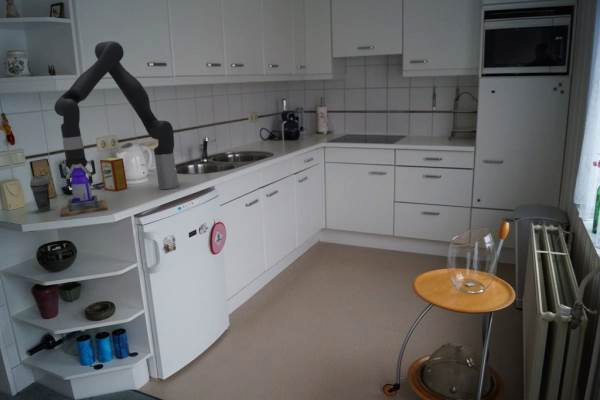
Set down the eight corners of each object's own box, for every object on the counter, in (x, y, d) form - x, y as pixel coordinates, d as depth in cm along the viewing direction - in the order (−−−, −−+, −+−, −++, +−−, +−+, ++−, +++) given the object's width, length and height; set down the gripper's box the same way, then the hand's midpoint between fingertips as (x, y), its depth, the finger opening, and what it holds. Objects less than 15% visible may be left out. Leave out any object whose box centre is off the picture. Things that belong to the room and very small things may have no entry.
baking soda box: (104, 190, 244) (99, 159, 240) (115, 187, 249) (110, 156, 245) (116, 191, 239) (111, 159, 235) (127, 188, 244) (122, 157, 240)
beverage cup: (44, 208, 213) (35, 163, 208) (57, 208, 211) (49, 163, 206) (31, 212, 206) (21, 166, 202) (44, 213, 204) (35, 166, 199)
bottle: (94, 201, 209) (88, 162, 205) (89, 205, 204) (82, 164, 199) (78, 202, 209) (70, 163, 205) (72, 206, 204) (65, 165, 199)
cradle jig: (105, 202, 217) (104, 193, 216) (107, 209, 203) (106, 200, 202) (62, 208, 211) (60, 199, 210) (60, 216, 196) (58, 207, 195)
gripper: (92, 144, 206) (98, 182, 210) (55, 148, 201) (62, 186, 205) (92, 146, 200) (99, 185, 204) (54, 150, 194) (61, 190, 198)
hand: (80, 185), depth 204 cm, fingers closed on bottle, 7 cm apart
